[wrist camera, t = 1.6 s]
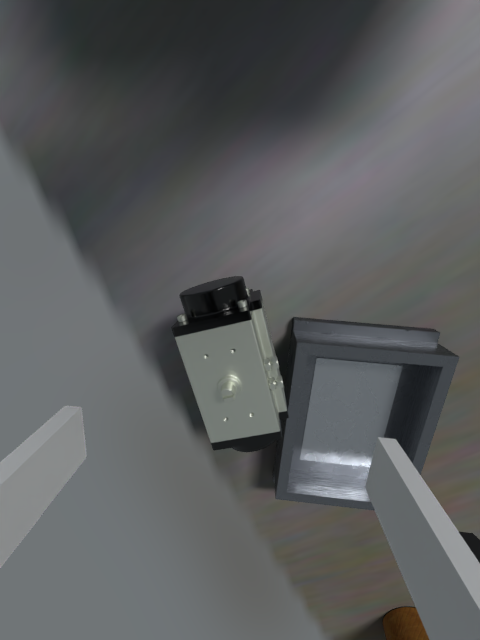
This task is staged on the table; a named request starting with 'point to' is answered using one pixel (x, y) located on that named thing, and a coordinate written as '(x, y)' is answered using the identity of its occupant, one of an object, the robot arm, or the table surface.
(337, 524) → the table surface
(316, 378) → the rectangular open-top bin
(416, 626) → the disposable coffee cup
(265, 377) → the pneumatic valve
